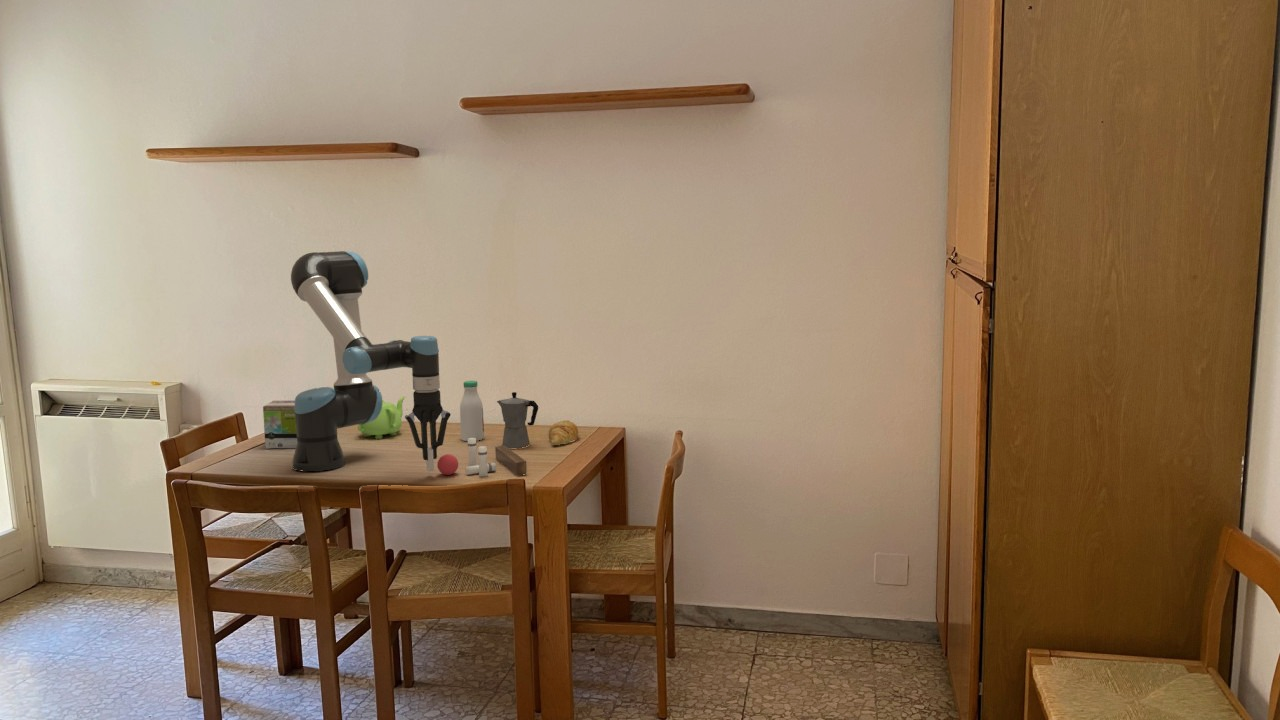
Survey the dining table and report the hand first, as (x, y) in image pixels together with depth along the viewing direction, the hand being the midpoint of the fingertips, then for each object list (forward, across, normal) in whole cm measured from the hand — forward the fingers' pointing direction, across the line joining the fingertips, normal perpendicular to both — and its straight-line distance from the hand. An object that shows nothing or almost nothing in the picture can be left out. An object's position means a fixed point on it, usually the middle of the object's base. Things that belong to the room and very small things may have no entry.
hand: (430, 470), depth 270 cm
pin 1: (+2, +14, +6) cm, 15 cm away
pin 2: (+2, +14, -6) cm, 15 cm away
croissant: (+2, +50, +25) cm, 56 cm away
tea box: (+2, -33, +61) cm, 69 cm away
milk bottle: (+2, +23, +41) cm, 47 cm away
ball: (-1, +5, 0) cm, 5 cm away
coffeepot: (+2, +34, +24) cm, 42 cm away
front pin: (+1, +10, -3) cm, 10 cm away
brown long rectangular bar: (+2, +24, 0) cm, 24 cm away
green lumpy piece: (+2, -3, +63) cm, 63 cm away
